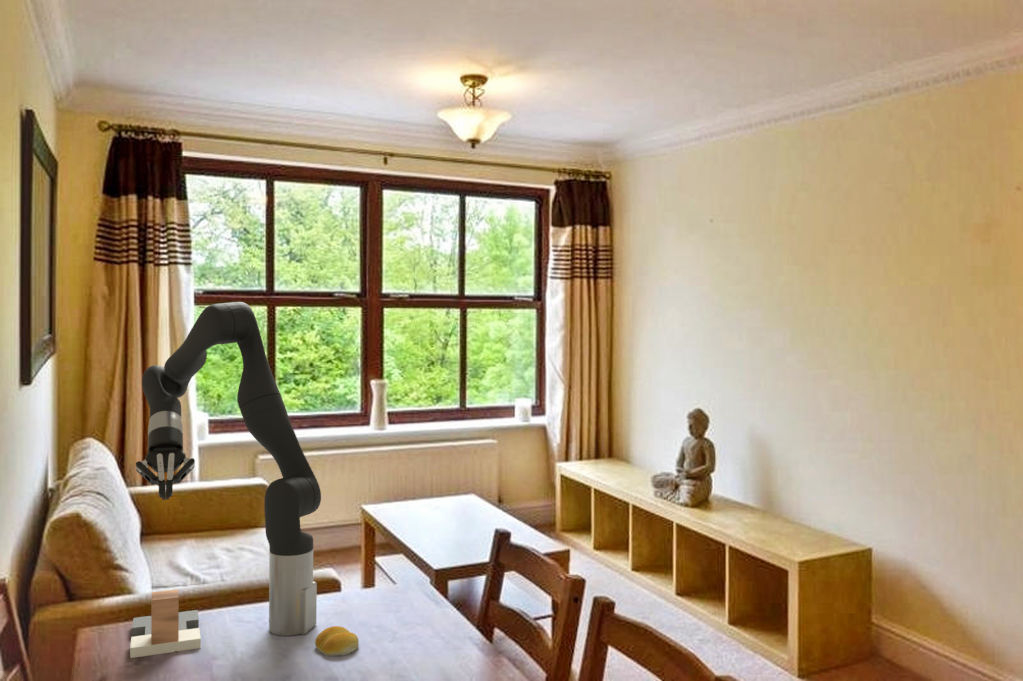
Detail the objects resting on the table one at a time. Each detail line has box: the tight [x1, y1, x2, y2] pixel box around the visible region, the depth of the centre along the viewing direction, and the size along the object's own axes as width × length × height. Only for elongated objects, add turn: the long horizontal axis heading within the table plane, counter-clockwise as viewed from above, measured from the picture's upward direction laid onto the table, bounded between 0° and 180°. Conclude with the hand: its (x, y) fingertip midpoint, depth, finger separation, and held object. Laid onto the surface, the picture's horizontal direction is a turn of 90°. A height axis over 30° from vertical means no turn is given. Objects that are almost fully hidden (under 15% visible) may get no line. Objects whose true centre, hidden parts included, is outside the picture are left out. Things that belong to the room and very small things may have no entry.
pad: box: [129, 627, 202, 659], centre depth 163 cm, size 6×13×2 cm, turn 113°
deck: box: [131, 609, 200, 637], centre depth 171 cm, size 11×13×2 cm
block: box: [150, 589, 180, 645], centre depth 163 cm, size 5×5×9 cm
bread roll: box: [314, 625, 359, 657], centre depth 164 cm, size 8×9×4 cm
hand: (165, 497), depth 177 cm, fingers closed
